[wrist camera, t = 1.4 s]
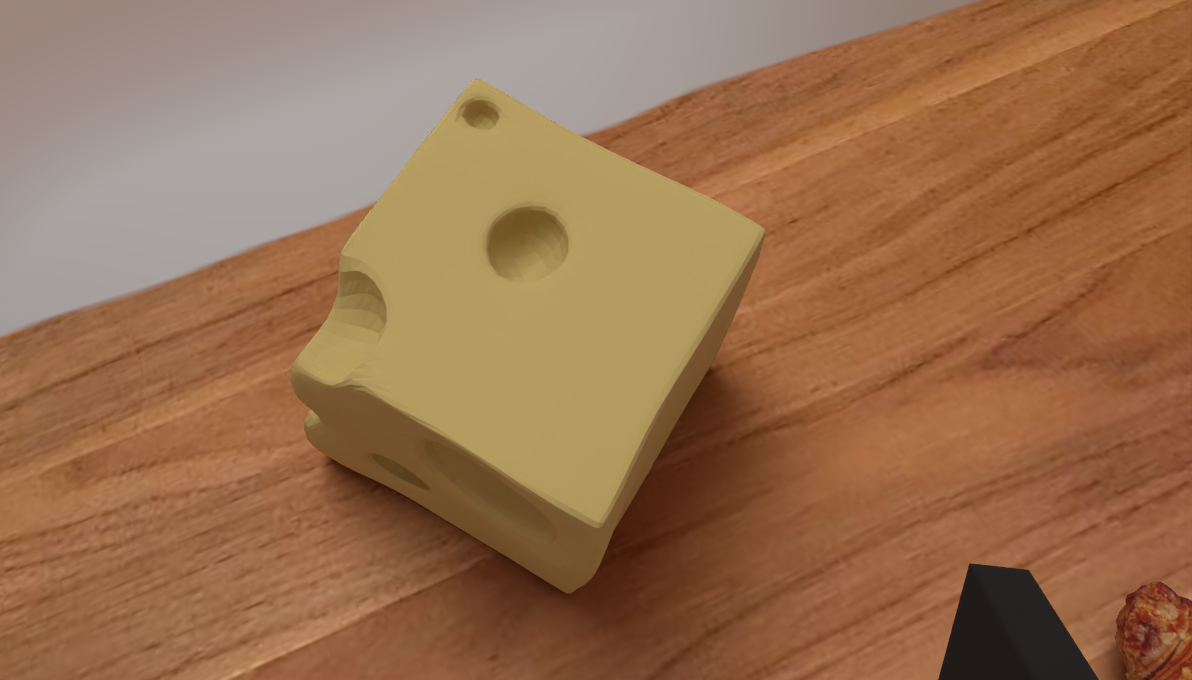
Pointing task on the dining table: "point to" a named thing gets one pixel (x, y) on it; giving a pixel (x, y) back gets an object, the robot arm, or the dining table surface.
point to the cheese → (522, 331)
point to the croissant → (1156, 634)
